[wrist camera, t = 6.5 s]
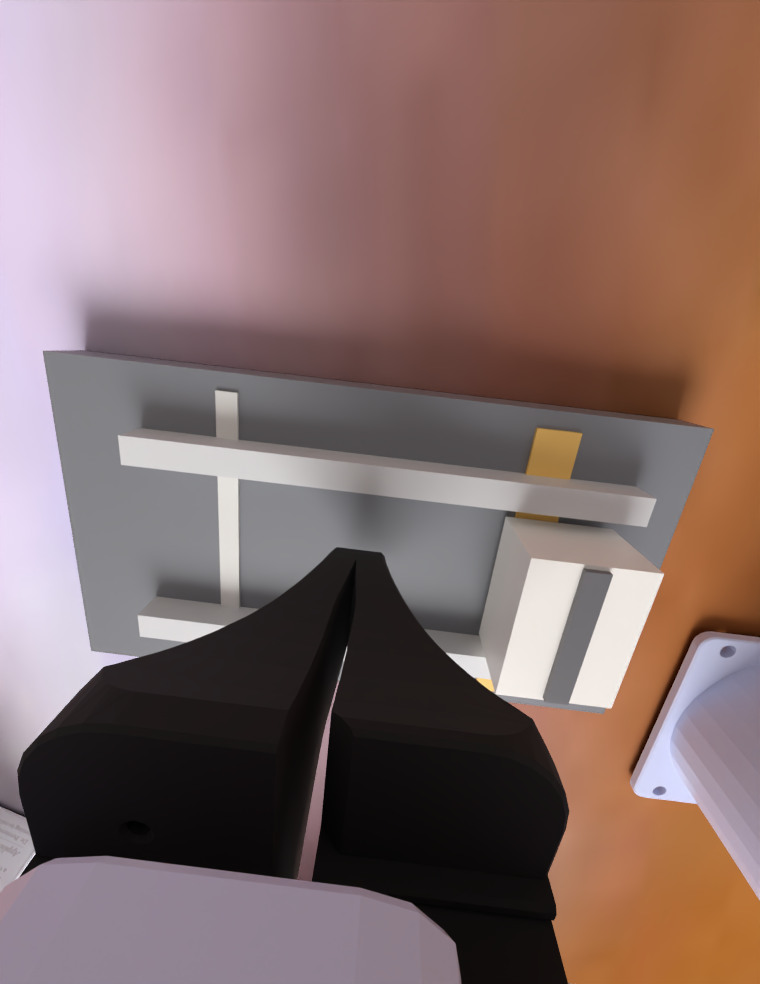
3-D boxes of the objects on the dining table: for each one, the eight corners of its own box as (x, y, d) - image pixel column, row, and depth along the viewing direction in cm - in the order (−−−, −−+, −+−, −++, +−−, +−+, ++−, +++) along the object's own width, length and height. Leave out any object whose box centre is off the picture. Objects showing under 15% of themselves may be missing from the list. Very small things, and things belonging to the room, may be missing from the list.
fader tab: (612, 529, 11) (668, 577, 9) (574, 644, 13) (614, 713, 10) (506, 516, 11) (533, 561, 9) (478, 633, 13) (496, 699, 10)
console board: (677, 419, 12) (744, 436, 10) (585, 680, 16) (617, 739, 13) (83, 350, 12) (9, 351, 10) (119, 623, 16) (69, 672, 13)
